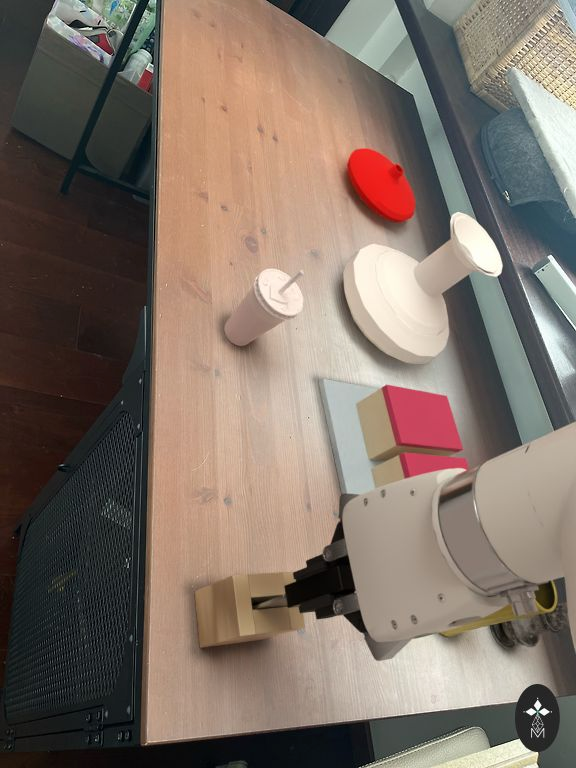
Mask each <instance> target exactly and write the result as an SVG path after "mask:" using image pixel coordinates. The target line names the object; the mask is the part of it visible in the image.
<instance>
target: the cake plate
mask: <svg viewBox="0 0 576 768" xmlns="http://www.w3.org/2000/svg"><path fill="white" fill-rule="evenodd" d="M318 386H319V391H320V396H321V400H322V406H323V411H324V414H325V415H324V416H325V420H326V425H327V430H328V434H329V440H330V444H331V448H332V454H333V459H334V463H335V469H336V473H337V476H338V483H339V487H340V490H341V491H340V492H341V495H342V494H343V493H348V494H363V493H366V492H368V491H370V490H373V489H376V488H375V483H374V479H373V475H372V471H371V469H372V468H374V467H376V466H378V465H380V464H382V463H384V462H386V461H379V460H369V458H368V453H367V449H366V445H365V440H364V436H363V432H362V428H361V423H360V419H359V415H358V410H357V406H356V403H358V402H360V401H361V400H363V399H364V398H366V397H368V396H369V395H371V394H372V393H374V392H376V391H377V390H379V389H380V388H377V387H370V386H366V385H359V384H355V383H354V384H353V383H349V382H344V381H339V380H332V379H328V378H327V379H326V378H322V379H320V380H319V381H318ZM448 457H451V455H450V456H448Z"/></svg>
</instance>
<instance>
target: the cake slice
mask: <svg viewBox="0 0 576 768" xmlns="http://www.w3.org/2000/svg"><path fill="white" fill-rule="evenodd" d="M455 468H462V469H465V470H468V469H470V468H469V464H468V460H467V458H466V457H456V456H455V457H454V456H450V457H447V456H437V455H427V454H416V453H406V452H404V453H402V454H400V455H398V456H396V457H394V458H392V459H390V460H388V461H386V462H384V463H382V464H380V465H378V466H376V467H374V468H372V469H371V471H372V475H373V479H374V483H375V488H378V487H381V486H384V485H387V484H390V483H393V482H396V481H400V480H403V479H406V478H410V477H413V476H417V475H421V474H424V473H429V472H433V471H438V470H444V469H455ZM383 494H384V493H383Z"/></svg>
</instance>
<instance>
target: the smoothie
mask: <svg viewBox="0 0 576 768" xmlns="http://www.w3.org/2000/svg"><path fill="white" fill-rule="evenodd" d="M304 274H305V271H304V270H303V269H299V270H298V271H297V272H296V273H295V274H294V275H292V277H291V276H290V275H289V274H287V273H286V272H284V271H282V270H280V269H278V268H277V269H276V268H266V269H264V270H262V271H261V272H260V273H259V274H257V276H256V277H255V279H254V283H253V285H252V286H251V288H250V289H249V291H248V292H247V294H246V295H245V296H244V298H243V299H242V300H241V302H240V303H239V304H238V305H237V307H236V308H235V310H234V311H233V312H232V314H231V315H230V317H229V318H228V319H227V321H226V322H225V324H224V327H223V331H224V334H225V337H226V338H227V339H228V340H229V342H231V343H232V344H233V345H235V346H238V347H244V346H246V345H249V344H251V342H253V341H254V340H256V339H258V338H259V337H261V336H262V335H264V334H266V333H268V332H269V331H271V330H272V329H274V328H275V327H277V326H279V325H281V324H283V322H285V321H289V320H293V319H295V318H296V317H297V316H298V315H299V314H300V313H301V312H302V310H303V308H304V296H303V293H302V291H301V289H300V287H299V285H298V284H297V283H296V281H297V280H299V279H300V278H301V277H302V276H303V275H304Z"/></svg>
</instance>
